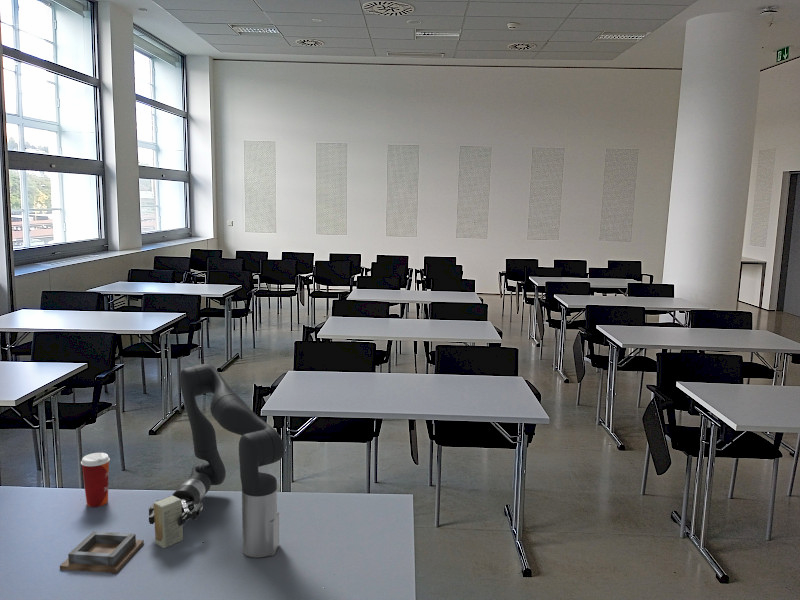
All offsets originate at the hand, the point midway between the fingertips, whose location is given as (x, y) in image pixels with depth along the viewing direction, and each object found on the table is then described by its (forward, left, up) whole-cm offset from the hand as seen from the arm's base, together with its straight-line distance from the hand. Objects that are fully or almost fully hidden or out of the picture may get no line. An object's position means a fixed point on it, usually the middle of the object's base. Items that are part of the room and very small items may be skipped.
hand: (165, 521), depth 182 cm
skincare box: (0, -2, -7) cm, 7 cm away
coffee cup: (+32, -23, -7) cm, 40 cm away
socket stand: (+14, +7, -7) cm, 17 cm away
